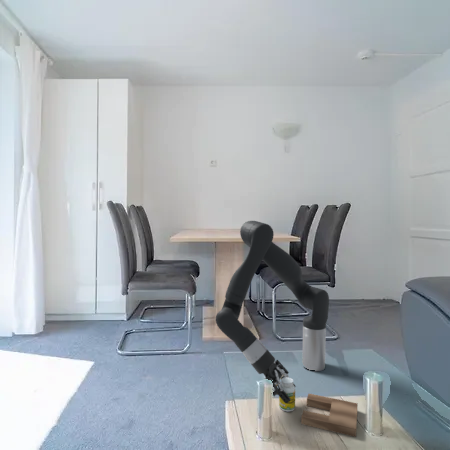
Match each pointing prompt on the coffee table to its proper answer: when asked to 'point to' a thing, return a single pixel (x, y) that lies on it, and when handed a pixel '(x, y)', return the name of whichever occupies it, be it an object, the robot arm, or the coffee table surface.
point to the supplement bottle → (290, 391)
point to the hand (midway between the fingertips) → (291, 394)
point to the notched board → (331, 415)
